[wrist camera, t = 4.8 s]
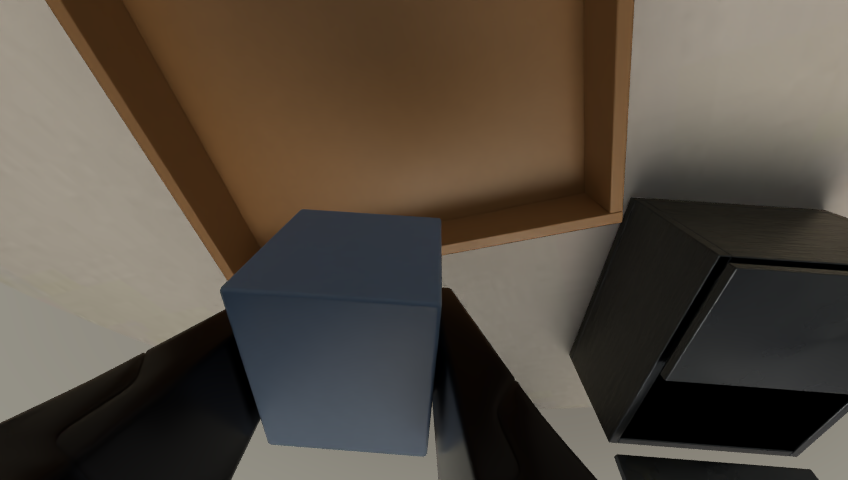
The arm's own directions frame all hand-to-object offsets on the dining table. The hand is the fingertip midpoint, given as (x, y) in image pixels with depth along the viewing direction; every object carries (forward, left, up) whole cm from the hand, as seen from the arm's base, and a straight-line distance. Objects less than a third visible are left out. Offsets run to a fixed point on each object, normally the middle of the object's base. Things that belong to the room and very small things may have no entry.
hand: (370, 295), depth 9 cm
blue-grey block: (0, 0, -1) cm, 0 cm away
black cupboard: (-7, -18, -11) cm, 22 cm away
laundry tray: (+16, +5, -11) cm, 20 cm away
